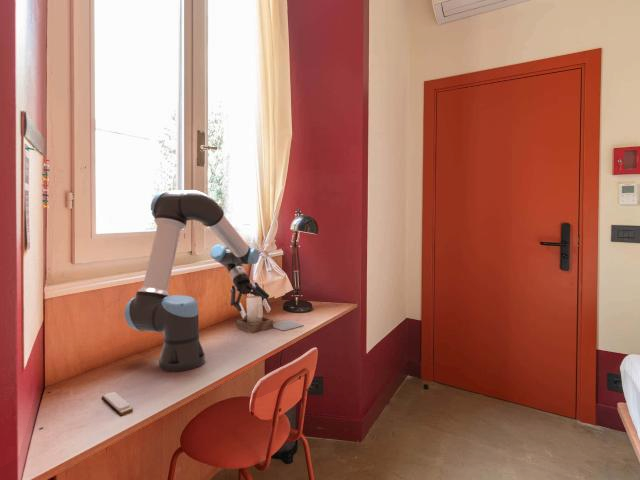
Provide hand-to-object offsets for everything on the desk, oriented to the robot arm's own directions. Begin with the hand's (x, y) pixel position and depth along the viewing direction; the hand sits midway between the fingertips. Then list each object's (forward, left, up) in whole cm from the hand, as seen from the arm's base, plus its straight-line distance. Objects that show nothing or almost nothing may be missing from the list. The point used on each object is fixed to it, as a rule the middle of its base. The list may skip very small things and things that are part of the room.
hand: (257, 313), depth 174 cm
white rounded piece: (0, +1, -5) cm, 5 cm away
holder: (0, +2, -7) cm, 7 cm away
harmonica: (-67, -35, -7) cm, 76 cm away
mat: (+12, -6, -7) cm, 15 cm away
